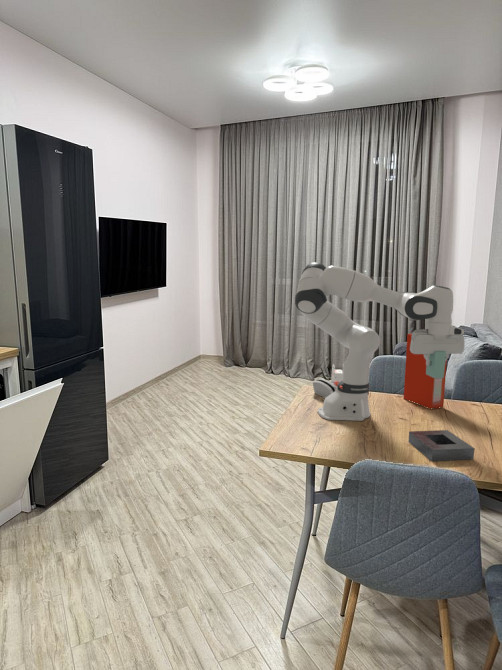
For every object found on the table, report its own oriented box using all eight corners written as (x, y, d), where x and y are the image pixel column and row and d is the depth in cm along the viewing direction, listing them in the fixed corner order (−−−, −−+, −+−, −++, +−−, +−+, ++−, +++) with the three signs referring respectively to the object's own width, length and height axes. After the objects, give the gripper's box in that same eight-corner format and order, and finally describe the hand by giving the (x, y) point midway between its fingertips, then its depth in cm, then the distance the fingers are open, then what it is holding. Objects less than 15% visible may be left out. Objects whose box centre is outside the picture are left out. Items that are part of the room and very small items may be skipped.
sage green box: (433, 377, 175) (435, 351, 173) (425, 374, 181) (427, 348, 179) (443, 377, 176) (445, 351, 174) (435, 373, 181) (437, 348, 180)
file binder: (429, 409, 211) (435, 339, 206) (403, 399, 226) (407, 333, 221) (443, 407, 214) (448, 338, 209) (415, 397, 230) (420, 332, 224)
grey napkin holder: (343, 401, 221) (338, 382, 218) (335, 405, 220) (330, 387, 217) (322, 392, 236) (317, 374, 233) (315, 396, 234) (310, 378, 231)
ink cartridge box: (343, 396, 229) (344, 367, 226) (332, 396, 229) (334, 367, 227) (340, 391, 237) (341, 363, 235) (330, 391, 237) (331, 363, 235)
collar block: (431, 461, 156) (432, 449, 156) (408, 441, 173) (409, 431, 172) (473, 459, 158) (474, 448, 158) (446, 440, 175) (447, 430, 174)
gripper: (416, 330, 171) (413, 367, 173) (468, 330, 174) (465, 366, 176) (408, 328, 177) (405, 363, 179) (458, 327, 180) (455, 363, 182)
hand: (435, 365), depth 178 cm, fingers closed on sage green box, 4 cm apart
